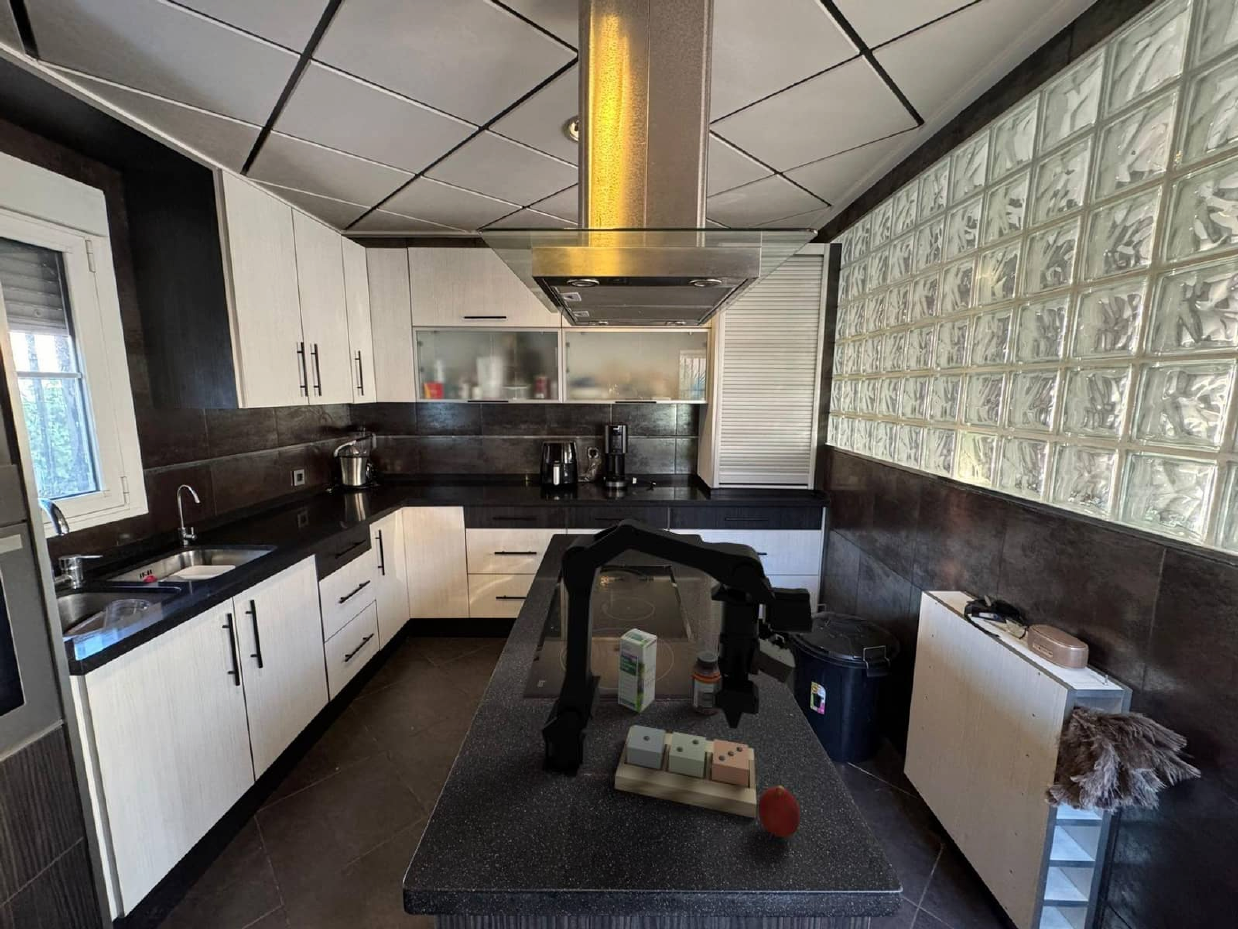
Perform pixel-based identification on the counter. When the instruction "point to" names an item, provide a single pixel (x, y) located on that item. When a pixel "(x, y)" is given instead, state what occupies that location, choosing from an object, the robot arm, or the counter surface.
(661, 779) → the tile tray
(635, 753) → the single dot cube
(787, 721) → the counter surface
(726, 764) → the tile three pip
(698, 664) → the supplement bottle
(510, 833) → the counter surface
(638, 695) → the syrup box
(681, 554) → the robot arm
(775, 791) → the onion
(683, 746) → the tile two pip
